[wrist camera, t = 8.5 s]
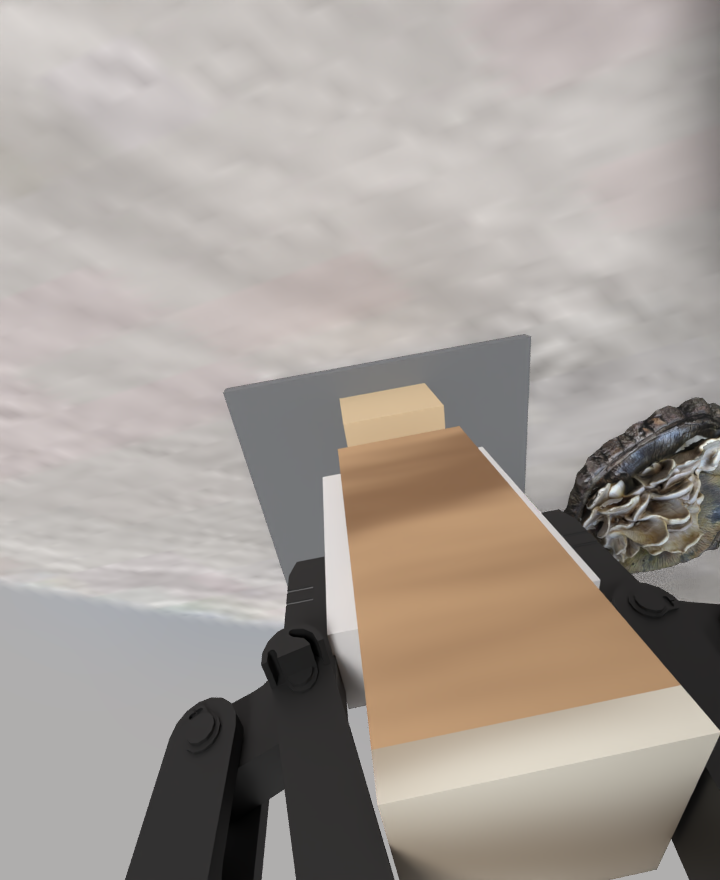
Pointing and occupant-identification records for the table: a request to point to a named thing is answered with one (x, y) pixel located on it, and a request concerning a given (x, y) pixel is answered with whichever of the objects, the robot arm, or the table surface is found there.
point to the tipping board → (373, 424)
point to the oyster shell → (655, 489)
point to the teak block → (503, 682)
